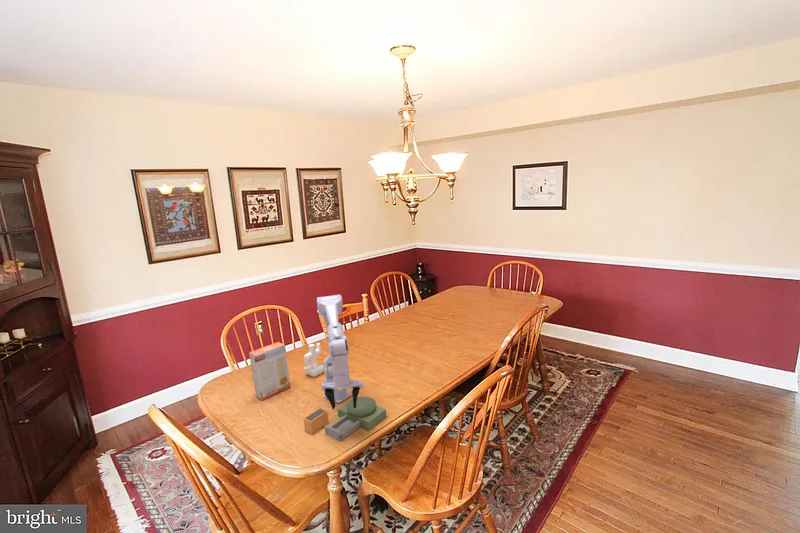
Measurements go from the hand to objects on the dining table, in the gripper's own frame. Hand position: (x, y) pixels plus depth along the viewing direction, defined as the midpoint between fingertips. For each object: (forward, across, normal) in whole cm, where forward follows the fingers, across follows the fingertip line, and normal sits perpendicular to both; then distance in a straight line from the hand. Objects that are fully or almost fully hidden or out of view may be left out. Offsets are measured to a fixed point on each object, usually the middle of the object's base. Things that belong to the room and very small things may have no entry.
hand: (344, 407), depth 137 cm
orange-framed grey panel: (+9, -12, +3) cm, 15 cm away
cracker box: (+8, -37, +29) cm, 48 cm away
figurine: (+7, -22, +44) cm, 50 cm away
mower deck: (+9, +2, +4) cm, 10 cm away
